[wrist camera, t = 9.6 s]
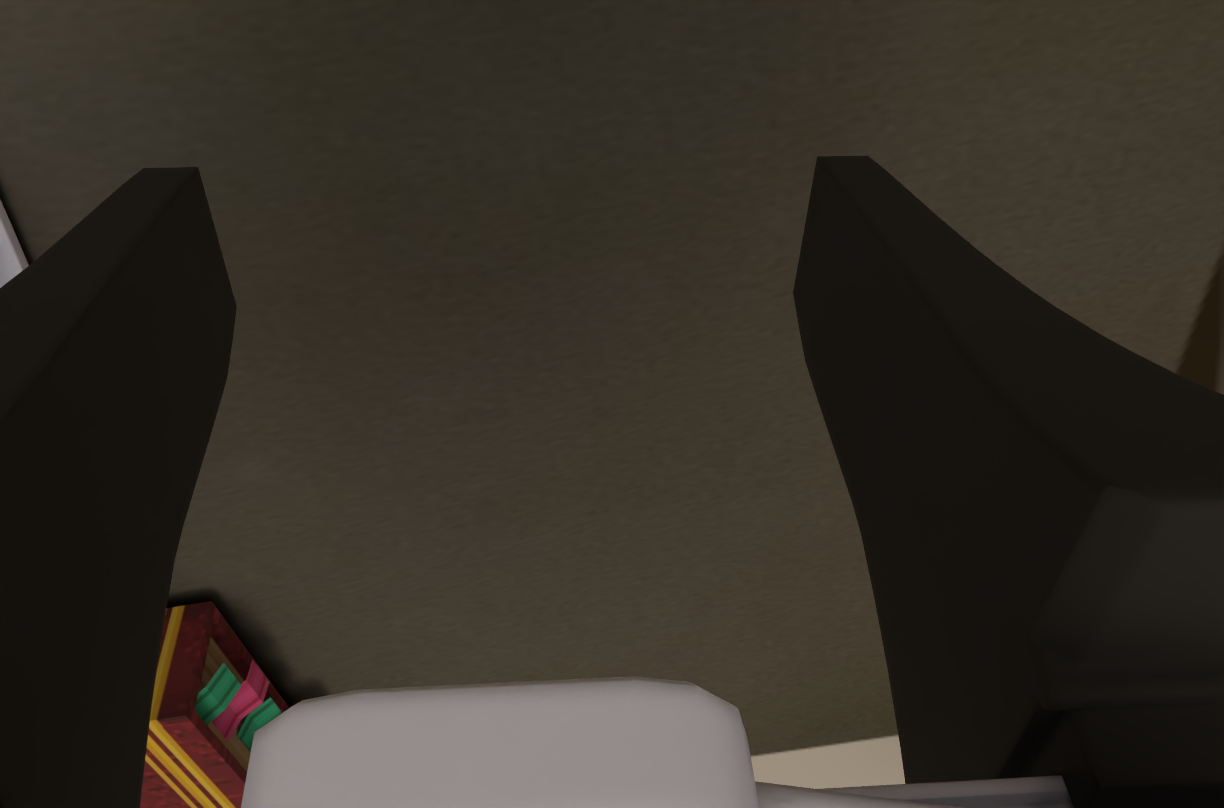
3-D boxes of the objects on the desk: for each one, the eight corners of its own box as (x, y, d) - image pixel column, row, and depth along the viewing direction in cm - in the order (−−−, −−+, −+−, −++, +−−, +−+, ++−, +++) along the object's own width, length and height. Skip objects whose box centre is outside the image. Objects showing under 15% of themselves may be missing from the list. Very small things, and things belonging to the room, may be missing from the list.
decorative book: (-250, 654, 34) (-337, 810, 31) (252, 575, 33) (222, 725, 30) (-39, 814, 42) (-89, 952, 39) (371, 753, 41) (358, 890, 37)
